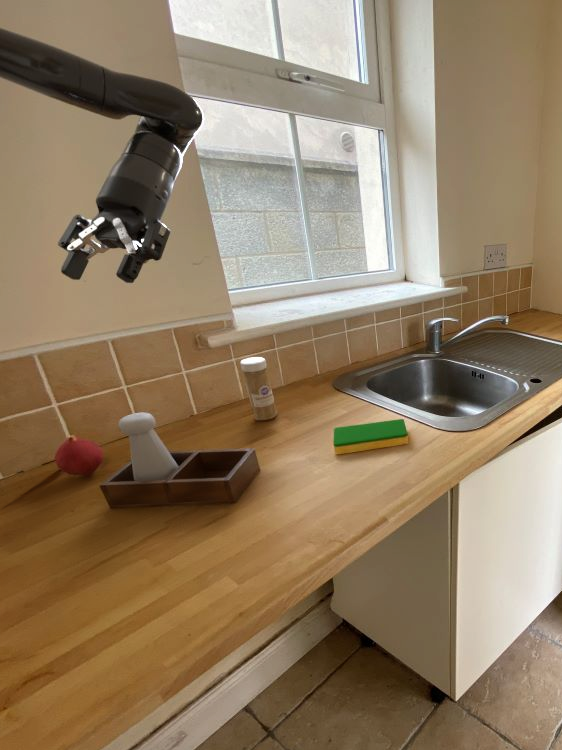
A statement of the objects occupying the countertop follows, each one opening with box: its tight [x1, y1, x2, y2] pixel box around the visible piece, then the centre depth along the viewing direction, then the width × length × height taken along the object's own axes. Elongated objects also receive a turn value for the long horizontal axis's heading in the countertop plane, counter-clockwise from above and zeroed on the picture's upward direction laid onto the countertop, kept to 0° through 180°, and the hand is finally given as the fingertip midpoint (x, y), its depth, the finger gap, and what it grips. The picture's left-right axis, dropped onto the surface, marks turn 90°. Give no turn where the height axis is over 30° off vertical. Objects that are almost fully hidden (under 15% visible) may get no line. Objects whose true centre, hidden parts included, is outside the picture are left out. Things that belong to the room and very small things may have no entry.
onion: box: [54, 435, 105, 477], centre depth 76 cm, size 6×6×8 cm
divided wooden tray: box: [99, 448, 261, 510], centre depth 75 cm, size 18×10×5 cm, turn 97°
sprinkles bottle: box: [239, 356, 278, 422], centre depth 96 cm, size 5×5×14 cm
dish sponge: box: [332, 418, 409, 455], centre depth 91 cm, size 7×14×2 cm, turn 111°
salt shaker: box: [117, 411, 179, 481], centre depth 72 cm, size 6×6×13 cm
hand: (96, 278), depth 66 cm, fingers open, 8 cm apart
